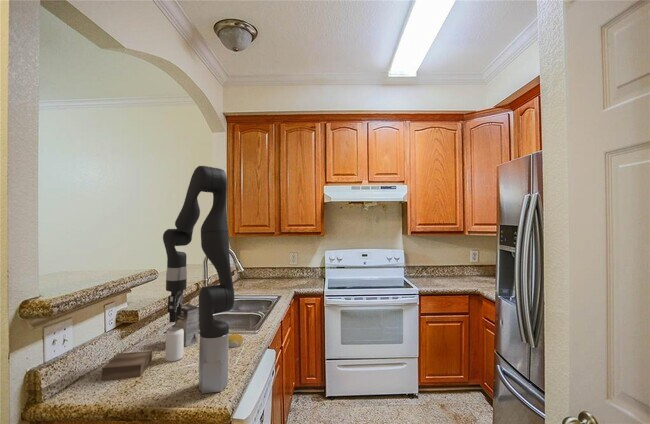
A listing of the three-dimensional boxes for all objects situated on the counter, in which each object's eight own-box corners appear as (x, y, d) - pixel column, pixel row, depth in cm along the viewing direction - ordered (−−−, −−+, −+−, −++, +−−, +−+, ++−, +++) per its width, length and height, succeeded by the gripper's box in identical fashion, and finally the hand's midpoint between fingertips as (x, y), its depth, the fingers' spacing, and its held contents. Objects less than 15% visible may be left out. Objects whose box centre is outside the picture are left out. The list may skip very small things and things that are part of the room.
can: (178, 353, 128) (179, 324, 129) (186, 358, 124) (186, 327, 124) (162, 359, 123) (163, 328, 124) (169, 363, 119) (170, 332, 119)
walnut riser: (140, 376, 109) (140, 364, 109) (102, 379, 107) (102, 368, 107) (151, 361, 121) (151, 351, 121) (117, 364, 118) (117, 353, 118)
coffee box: (173, 342, 140) (174, 306, 141) (186, 338, 146) (187, 303, 146) (186, 346, 135) (186, 309, 136) (198, 342, 141) (199, 306, 141)
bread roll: (243, 340, 144) (244, 331, 144) (240, 347, 135) (241, 338, 135) (225, 340, 143) (225, 331, 143) (221, 348, 134) (221, 339, 134)
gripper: (182, 281, 119) (181, 323, 118) (190, 274, 132) (189, 312, 132) (161, 281, 117) (159, 325, 117) (171, 275, 131) (170, 313, 130)
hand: (175, 318), depth 124 cm, fingers open, 8 cm apart
